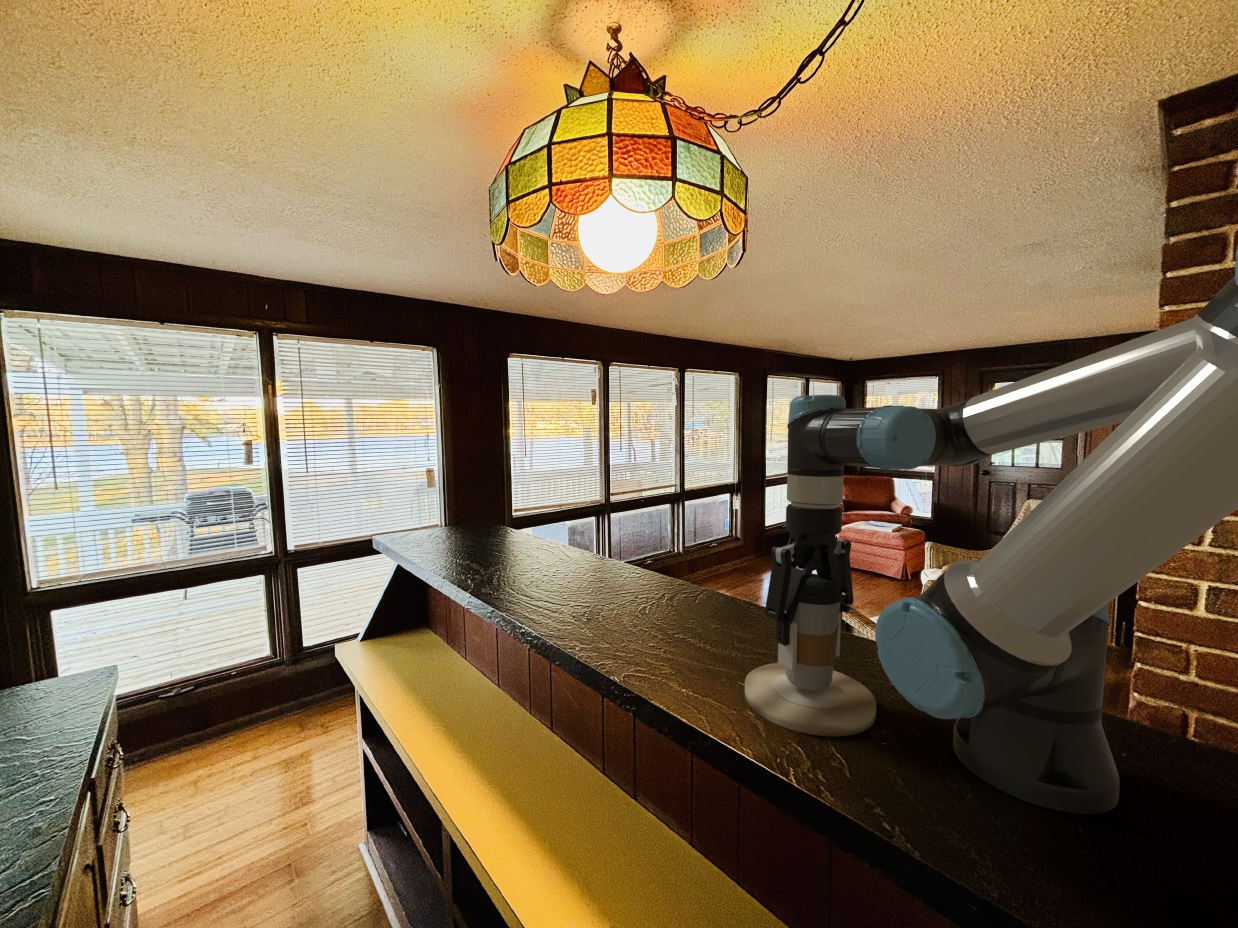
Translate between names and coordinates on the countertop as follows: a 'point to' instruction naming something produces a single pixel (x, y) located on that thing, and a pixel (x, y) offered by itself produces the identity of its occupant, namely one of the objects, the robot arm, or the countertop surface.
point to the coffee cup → (816, 633)
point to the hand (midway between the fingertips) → (809, 658)
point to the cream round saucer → (810, 703)
